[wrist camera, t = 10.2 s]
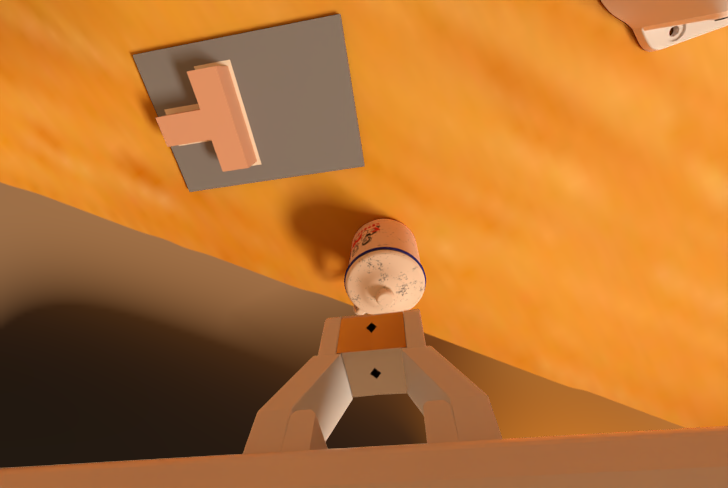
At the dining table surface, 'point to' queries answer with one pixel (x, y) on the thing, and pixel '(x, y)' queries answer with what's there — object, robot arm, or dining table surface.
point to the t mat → (267, 100)
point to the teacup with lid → (384, 269)
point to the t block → (213, 119)
